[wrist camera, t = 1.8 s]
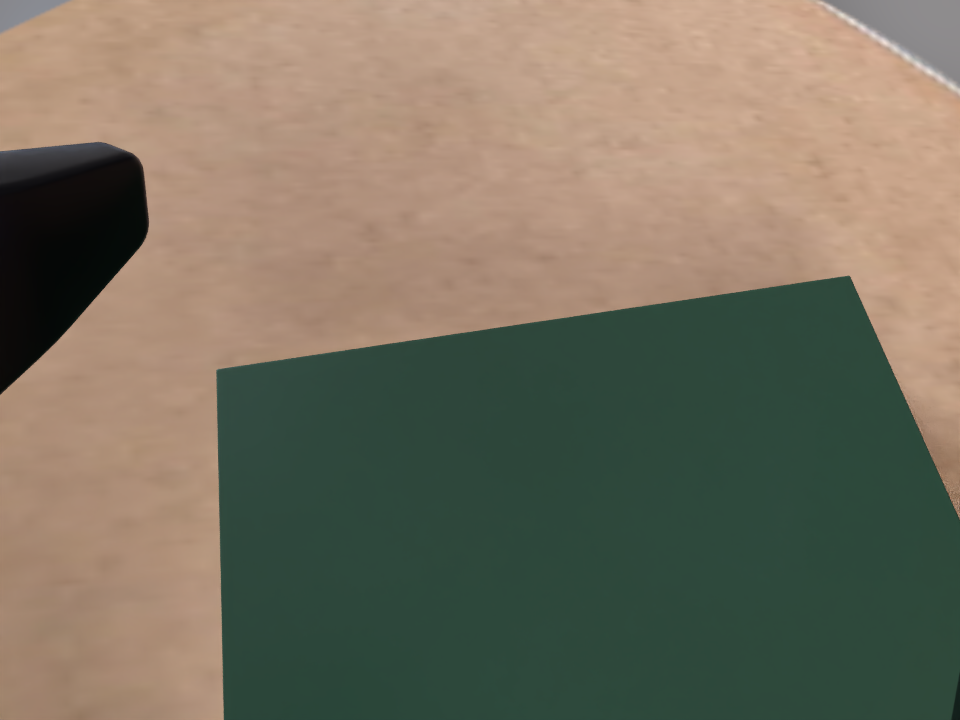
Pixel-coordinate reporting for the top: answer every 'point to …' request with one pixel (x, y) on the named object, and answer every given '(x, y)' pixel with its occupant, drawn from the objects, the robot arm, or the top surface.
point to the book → (590, 523)
